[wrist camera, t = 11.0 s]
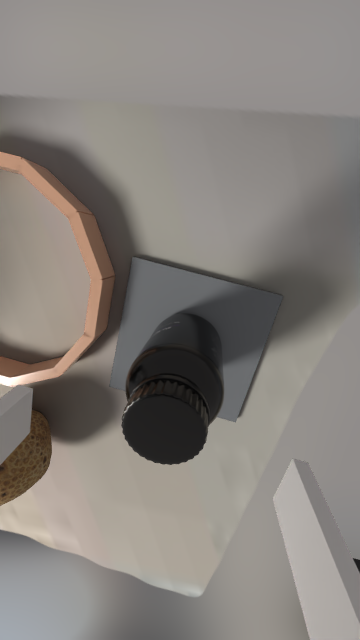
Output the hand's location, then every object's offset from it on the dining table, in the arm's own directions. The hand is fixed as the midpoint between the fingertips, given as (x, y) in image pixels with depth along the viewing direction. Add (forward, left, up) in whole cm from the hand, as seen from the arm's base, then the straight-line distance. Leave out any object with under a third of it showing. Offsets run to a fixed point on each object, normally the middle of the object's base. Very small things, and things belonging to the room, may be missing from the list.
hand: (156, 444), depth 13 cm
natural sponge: (-15, -15, -14) cm, 25 cm away
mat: (0, 0, -14) cm, 14 cm away
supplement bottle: (0, 0, -13) cm, 13 cm away
